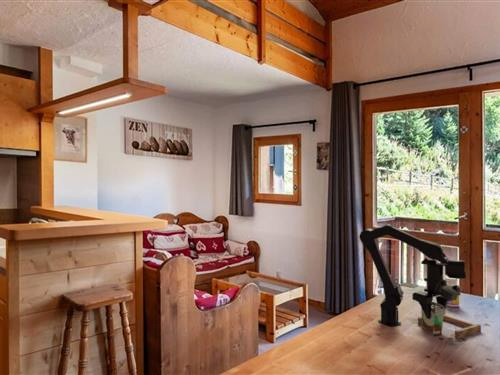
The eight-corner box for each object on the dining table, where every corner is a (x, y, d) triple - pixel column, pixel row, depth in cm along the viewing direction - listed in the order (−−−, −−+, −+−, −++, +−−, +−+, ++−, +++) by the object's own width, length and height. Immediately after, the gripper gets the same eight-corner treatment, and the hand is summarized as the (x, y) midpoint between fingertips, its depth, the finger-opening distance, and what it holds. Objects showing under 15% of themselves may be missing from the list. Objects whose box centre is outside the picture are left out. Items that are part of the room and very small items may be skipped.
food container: (451, 337, 136) (452, 310, 136) (434, 337, 136) (435, 310, 136) (435, 325, 148) (436, 300, 148) (420, 324, 148) (420, 299, 148)
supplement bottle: (439, 304, 175) (439, 276, 175) (449, 302, 178) (449, 275, 178) (452, 308, 169) (452, 280, 169) (462, 306, 172) (462, 278, 172)
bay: (457, 338, 135) (457, 331, 135) (417, 323, 150) (417, 317, 150) (480, 331, 142) (480, 325, 142) (440, 317, 157) (440, 312, 157)
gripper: (438, 284, 131) (438, 328, 131) (470, 278, 139) (470, 319, 139) (411, 277, 141) (411, 318, 141) (443, 272, 149) (443, 310, 149)
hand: (435, 316), depth 142 cm, fingers closed on food container, 7 cm apart
